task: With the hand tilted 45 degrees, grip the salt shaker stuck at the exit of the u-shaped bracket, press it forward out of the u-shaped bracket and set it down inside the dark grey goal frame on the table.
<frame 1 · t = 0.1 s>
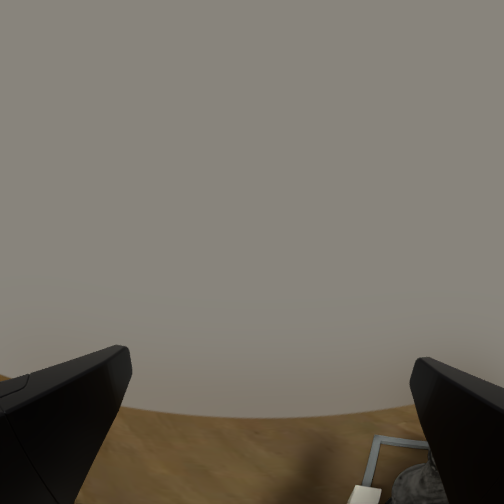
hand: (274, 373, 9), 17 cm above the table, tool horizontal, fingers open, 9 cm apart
goal frame: (417, 471, 19), on the table
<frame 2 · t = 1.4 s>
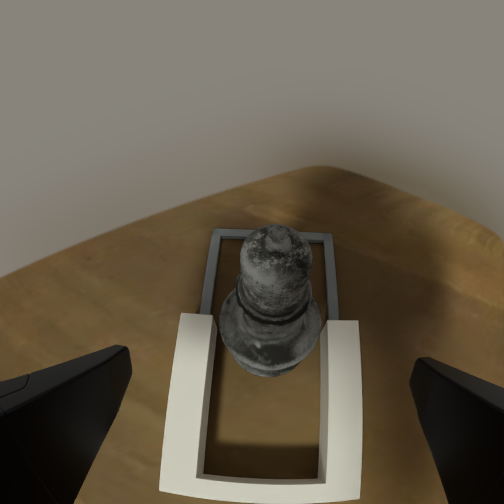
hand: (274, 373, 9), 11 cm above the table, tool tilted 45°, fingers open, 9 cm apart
goal frame: (271, 274, 23), on the table
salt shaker: (268, 340, 21), on the table
u-shaped bracket: (268, 339, 21), on the table
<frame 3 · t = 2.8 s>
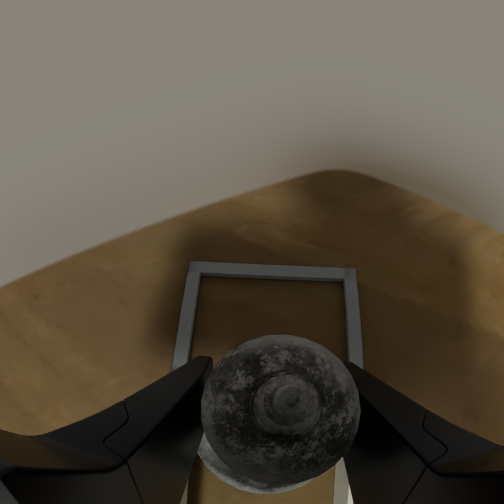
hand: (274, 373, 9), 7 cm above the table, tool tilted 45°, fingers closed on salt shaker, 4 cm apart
goal frame: (270, 331, 16), on the table
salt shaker: (265, 425, 14), on the table, touching gripper
u-shaped bracket: (265, 425, 13), on the table
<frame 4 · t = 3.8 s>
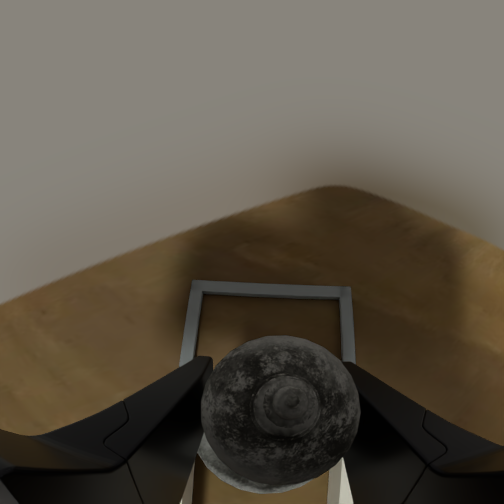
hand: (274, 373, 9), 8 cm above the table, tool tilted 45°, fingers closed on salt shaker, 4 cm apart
goal frame: (269, 347, 17), on the table
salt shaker: (265, 425, 14), point 1 cm above the table, touching gripper
u-shaped bracket: (264, 435, 14), on the table
when the fingers open (7 cm above the table, at t = 5.2 s): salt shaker stays where it is, on the table.
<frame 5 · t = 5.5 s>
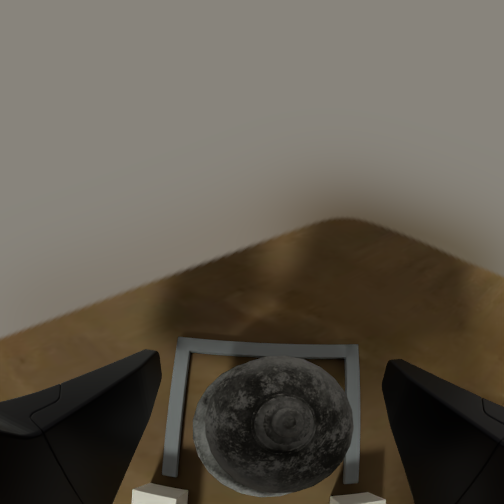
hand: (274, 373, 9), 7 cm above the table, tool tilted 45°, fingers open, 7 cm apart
goal frame: (264, 415, 14), on the table
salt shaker: (265, 430, 14), on the table
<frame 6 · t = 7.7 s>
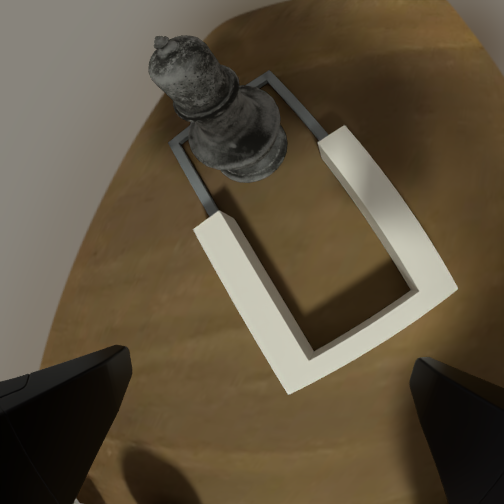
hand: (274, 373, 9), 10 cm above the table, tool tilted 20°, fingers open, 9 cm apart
goal frame: (243, 140, 21), on the table
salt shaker: (250, 148, 21), on the table
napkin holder: (83, 501, 25), on the table
u-shaped bracket: (281, 194, 20), on the table
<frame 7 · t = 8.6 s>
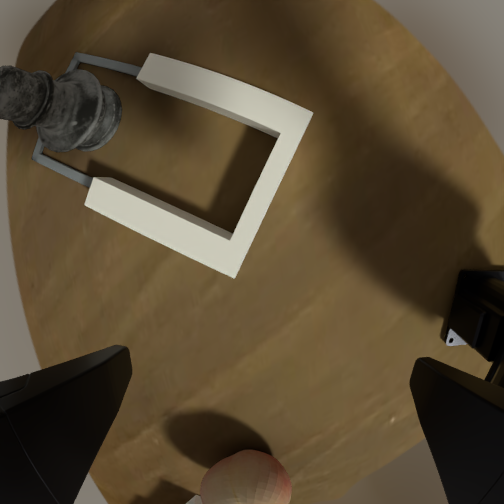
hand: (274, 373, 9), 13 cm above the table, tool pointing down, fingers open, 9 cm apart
goal frame: (84, 116, 20), on the table
fruit: (249, 459, 26), on the table
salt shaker: (93, 118, 20), on the table
u-shaped bracket: (134, 134, 20), on the table
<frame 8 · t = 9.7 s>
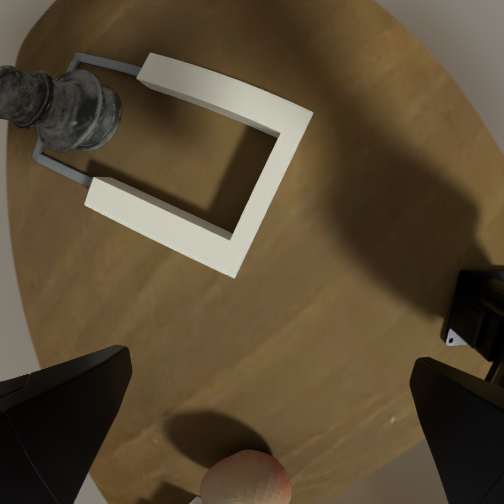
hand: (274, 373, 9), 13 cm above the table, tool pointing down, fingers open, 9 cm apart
goal frame: (84, 115, 20), on the table
fruit: (249, 459, 26), on the table
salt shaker: (93, 118, 20), on the table
u-shaped bracket: (134, 134, 20), on the table
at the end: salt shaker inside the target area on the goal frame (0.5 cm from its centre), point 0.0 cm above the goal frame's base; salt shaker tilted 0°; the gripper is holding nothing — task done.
